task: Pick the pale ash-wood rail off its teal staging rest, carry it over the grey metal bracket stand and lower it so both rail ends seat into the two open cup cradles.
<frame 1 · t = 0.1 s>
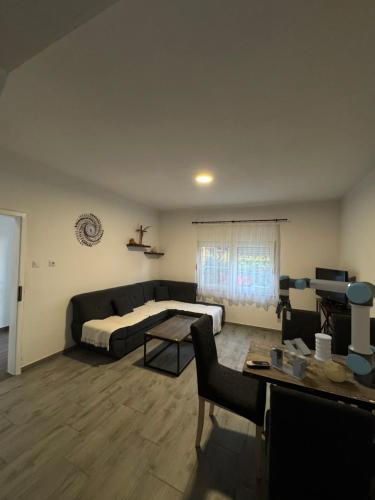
hand: (283, 321, 168), 28 cm above the table, fingers open, 13 cm apart
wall: (297, 353, 173), on the table
rail: (296, 361, 154), point 3 cm above the table, touching staging rest
sculpture: (334, 379, 137), on the table
bracket stand: (287, 370, 146), on the table
staging rest: (296, 365, 153), on the table
decorative container: (323, 359, 163), on the table
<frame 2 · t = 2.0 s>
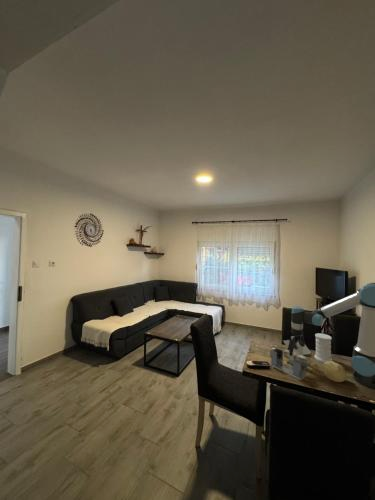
hand: (296, 357, 154), 6 cm above the table, fingers open, 13 cm apart
nothing on the table moved.
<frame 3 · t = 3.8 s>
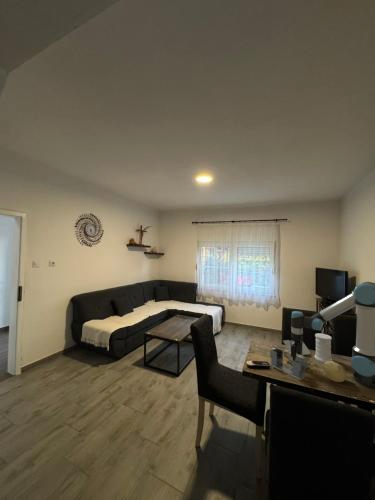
hand: (296, 364, 154), 0 cm above the table, fingers closed on rail, 4 cm apart
rail: (296, 361, 154), point 3 cm above the table, touching gripper, staging rest
everything else where it was.
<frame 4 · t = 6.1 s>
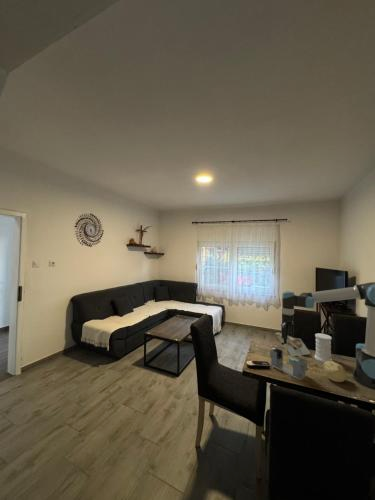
hand: (287, 347, 147), 16 cm above the table, fingers closed on rail, 4 cm apart
rail: (288, 343, 147), point 19 cm above the table, touching gripper
everything else where it was.
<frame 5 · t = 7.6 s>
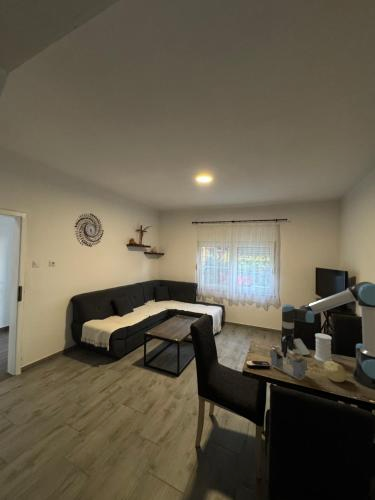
hand: (287, 360, 146), 7 cm above the table, fingers closed on rail, 4 cm apart
rail: (287, 356, 146), point 9 cm above the table, touching gripper
when the fingers open (4 cm above the table, at t = 8.8 s): rail drops 1 cm, resting on bracket stand.
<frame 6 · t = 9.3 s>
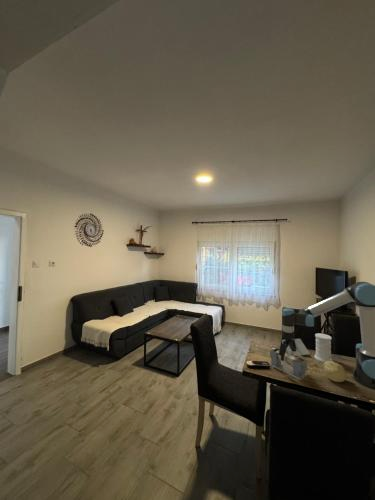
hand: (287, 362, 146), 5 cm above the table, fingers open, 11 cm apart
rail: (288, 362, 146), point 6 cm above the table, touching bracket stand
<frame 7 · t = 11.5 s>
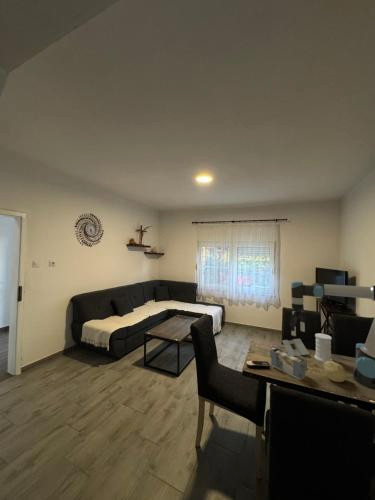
hand: (298, 333, 149), 25 cm above the table, fingers open, 13 cm apart
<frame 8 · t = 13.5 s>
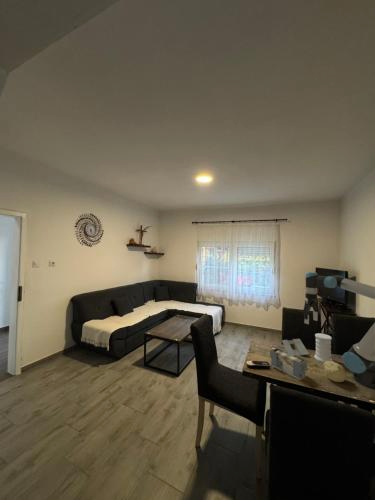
hand: (311, 322, 154), 32 cm above the table, fingers open, 13 cm apart
at the end: rail 0.2 cm off-centre on the bracket stand, point 5.6 cm above the bracket stand's base; rail tilted 0°; the gripper is holding nothing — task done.
